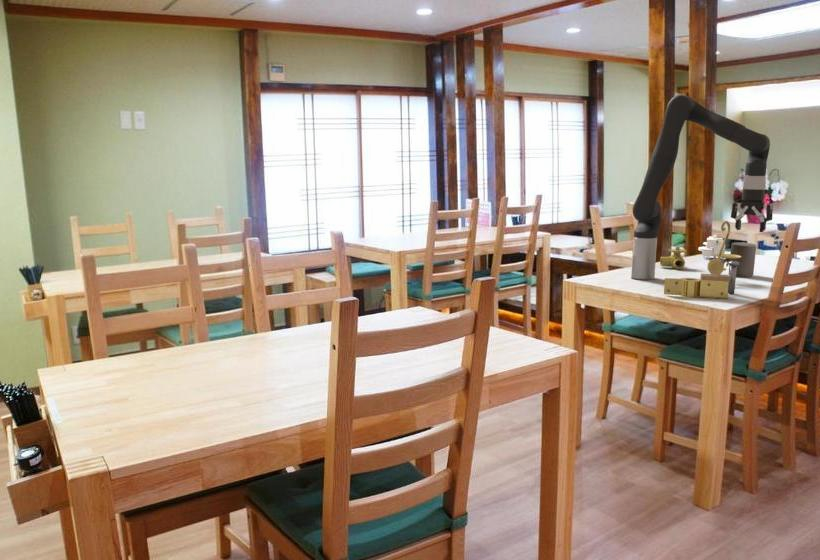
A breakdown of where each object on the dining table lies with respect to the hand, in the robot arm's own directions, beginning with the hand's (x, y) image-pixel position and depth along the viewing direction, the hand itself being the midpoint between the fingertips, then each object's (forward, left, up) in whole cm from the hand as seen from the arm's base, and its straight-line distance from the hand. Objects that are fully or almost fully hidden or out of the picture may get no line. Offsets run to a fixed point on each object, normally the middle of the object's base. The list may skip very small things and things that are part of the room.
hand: (749, 230), depth 256 cm
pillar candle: (+3, +31, -23) cm, 38 cm away
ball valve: (-24, +43, -23) cm, 55 cm away
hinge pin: (-6, -11, -23) cm, 26 cm away
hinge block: (-19, -19, -22) cm, 36 cm away
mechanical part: (-5, +76, -23) cm, 80 cm away
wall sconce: (-6, +13, -23) cm, 27 cm away
